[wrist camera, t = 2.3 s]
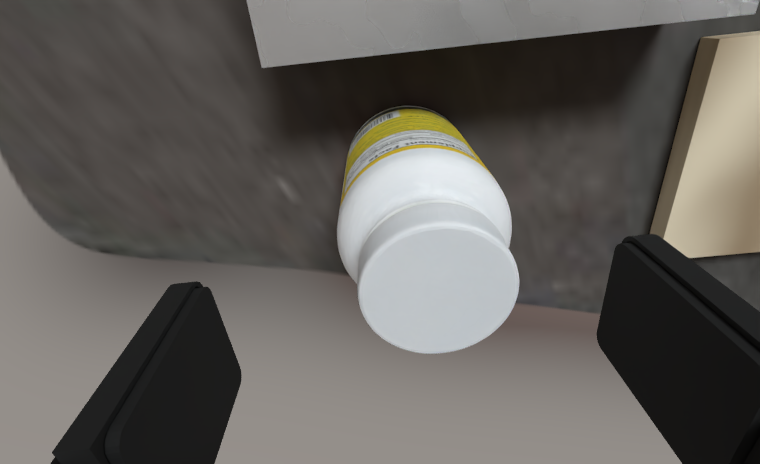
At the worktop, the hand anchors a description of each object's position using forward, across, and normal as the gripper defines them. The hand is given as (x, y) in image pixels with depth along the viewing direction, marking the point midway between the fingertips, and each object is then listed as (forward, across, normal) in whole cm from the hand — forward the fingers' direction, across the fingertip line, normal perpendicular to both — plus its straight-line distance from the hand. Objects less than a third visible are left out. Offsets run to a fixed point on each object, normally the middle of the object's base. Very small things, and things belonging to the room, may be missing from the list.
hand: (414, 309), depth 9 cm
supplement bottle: (+10, -1, 0) cm, 10 cm away
